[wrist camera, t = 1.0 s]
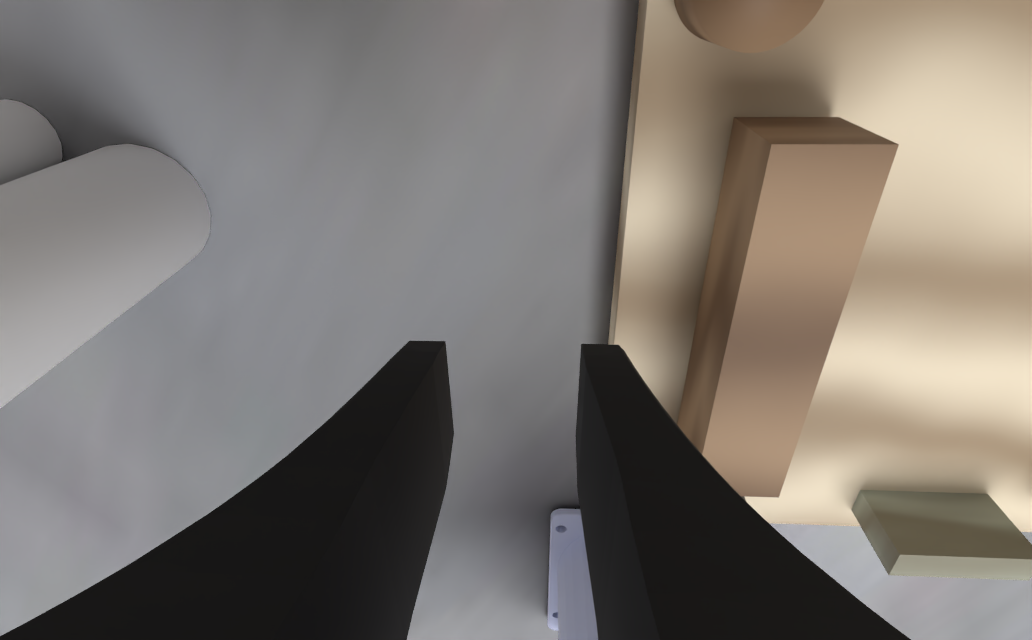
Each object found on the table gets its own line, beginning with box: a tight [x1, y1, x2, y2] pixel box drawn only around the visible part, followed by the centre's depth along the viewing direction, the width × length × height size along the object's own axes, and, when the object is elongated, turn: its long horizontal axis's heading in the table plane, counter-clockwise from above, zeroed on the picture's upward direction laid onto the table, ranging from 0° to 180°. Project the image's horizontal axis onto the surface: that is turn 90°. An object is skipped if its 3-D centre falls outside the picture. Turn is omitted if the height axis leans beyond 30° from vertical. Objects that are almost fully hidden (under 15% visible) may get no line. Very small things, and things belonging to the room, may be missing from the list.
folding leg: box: [677, 117, 899, 498], centre depth 17 cm, size 12×3×3 cm, turn 1°
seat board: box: [608, 0, 1032, 580], centre depth 17 cm, size 22×22×6 cm
